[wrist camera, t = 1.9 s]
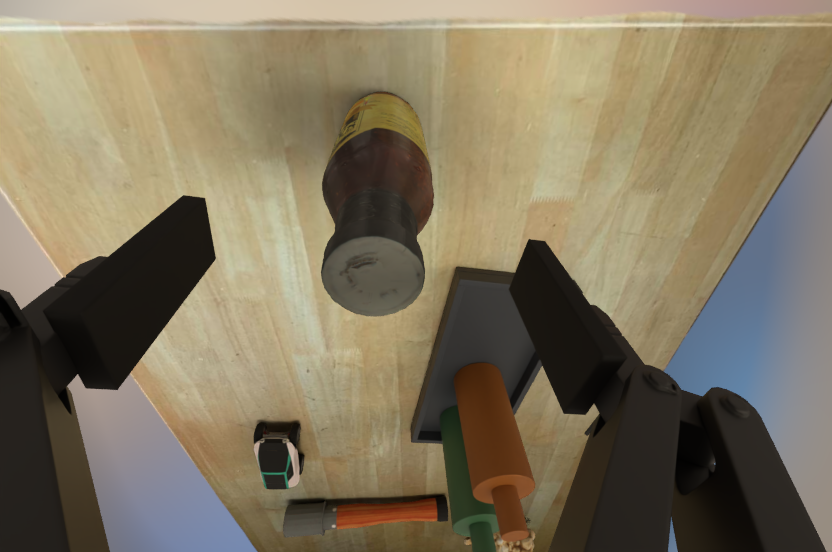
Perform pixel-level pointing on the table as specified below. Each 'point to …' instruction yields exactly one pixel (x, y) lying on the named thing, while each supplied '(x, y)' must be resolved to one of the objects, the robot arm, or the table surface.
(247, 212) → the table surface
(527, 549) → the mineral formation
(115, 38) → the table surface
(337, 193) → the sauce bottle
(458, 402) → the amber bottle
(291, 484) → the toy car
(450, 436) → the green bottle
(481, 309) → the tray
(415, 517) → the stick grenade
